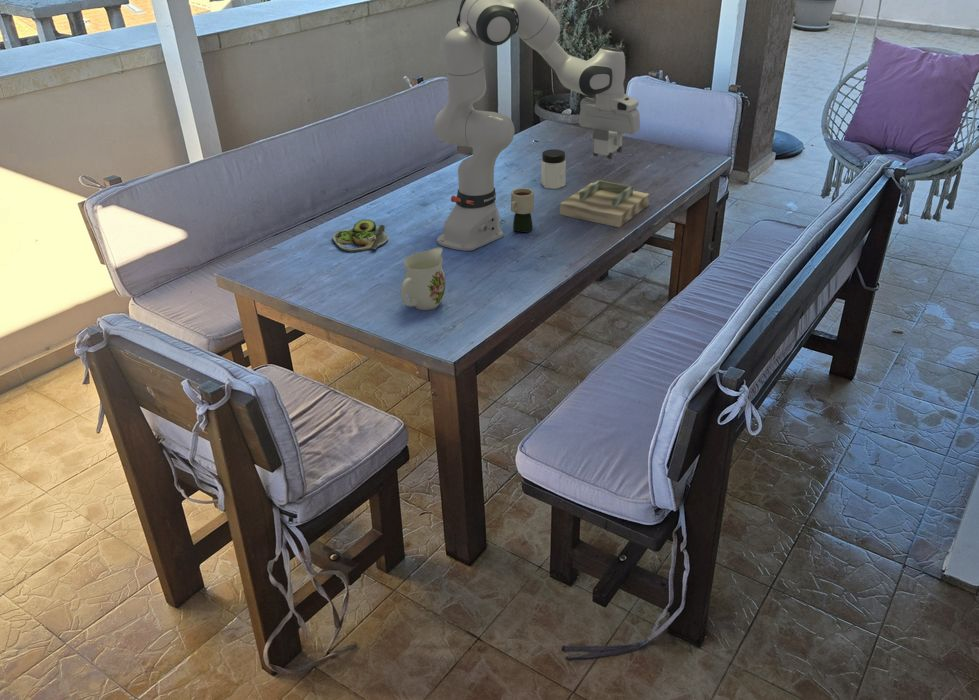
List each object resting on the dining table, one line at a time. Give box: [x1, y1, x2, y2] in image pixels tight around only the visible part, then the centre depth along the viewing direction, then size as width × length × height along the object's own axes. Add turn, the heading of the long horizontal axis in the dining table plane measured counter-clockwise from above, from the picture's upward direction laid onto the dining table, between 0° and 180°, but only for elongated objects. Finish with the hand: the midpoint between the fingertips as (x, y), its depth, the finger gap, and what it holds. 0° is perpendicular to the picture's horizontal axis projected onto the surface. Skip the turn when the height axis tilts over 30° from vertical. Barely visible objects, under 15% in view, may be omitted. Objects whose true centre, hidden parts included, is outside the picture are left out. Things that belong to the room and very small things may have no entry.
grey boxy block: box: [592, 128, 623, 160], centre depth 272 cm, size 11×6×10 cm, turn 146°
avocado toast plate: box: [331, 218, 389, 253], centre depth 268 cm, size 19×18×5 cm
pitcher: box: [400, 247, 446, 311], centre depth 227 cm, size 11×18×14 cm, turn 147°
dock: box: [559, 179, 650, 228], centre depth 283 cm, size 22×22×7 cm
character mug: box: [510, 187, 535, 233], centre depth 269 cm, size 11×7×13 cm, turn 139°
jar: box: [540, 148, 567, 190], centre depth 303 cm, size 9×8×12 cm
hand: (607, 143), depth 273 cm, fingers closed on grey boxy block, 5 cm apart
